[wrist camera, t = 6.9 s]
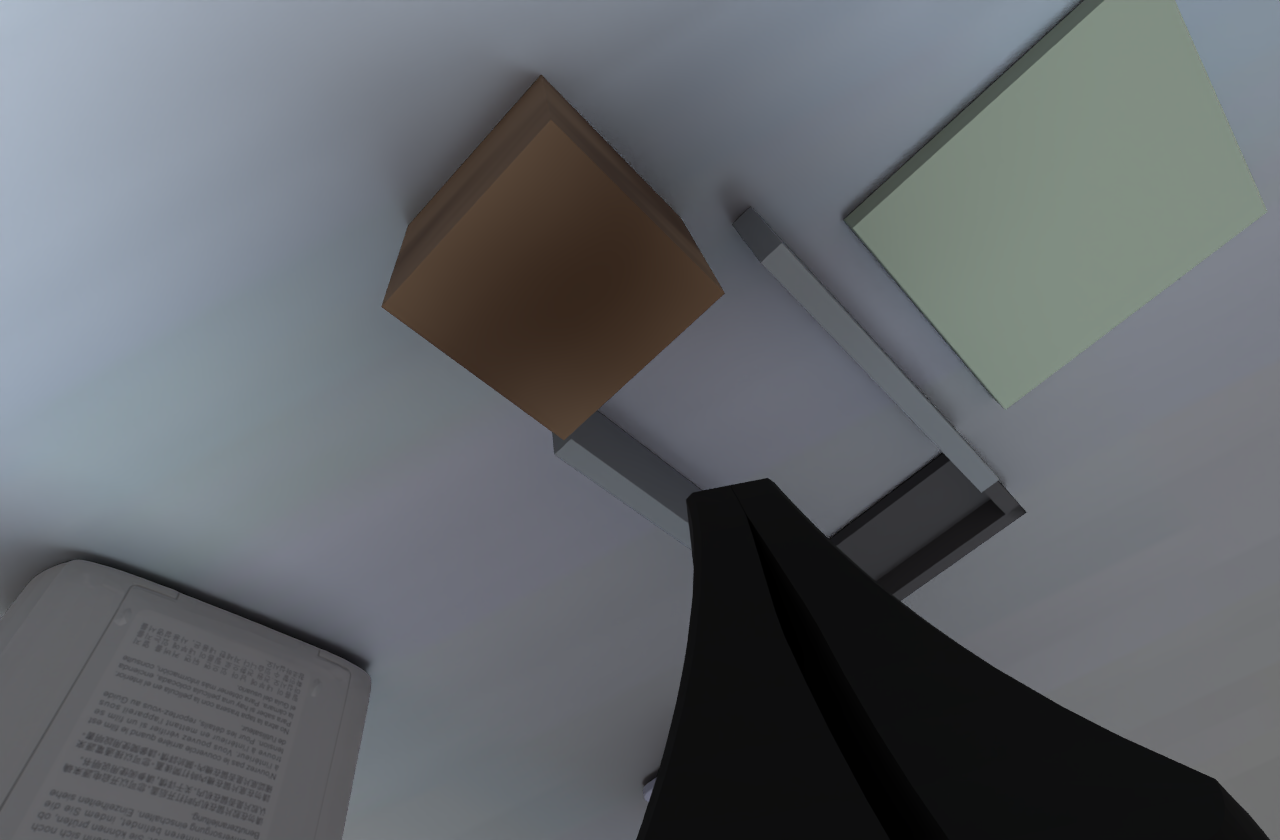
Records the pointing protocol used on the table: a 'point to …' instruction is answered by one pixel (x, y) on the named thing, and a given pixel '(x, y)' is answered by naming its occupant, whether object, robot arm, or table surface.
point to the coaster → (1064, 195)
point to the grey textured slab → (167, 718)
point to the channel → (665, 491)
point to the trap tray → (925, 527)
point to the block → (549, 266)
